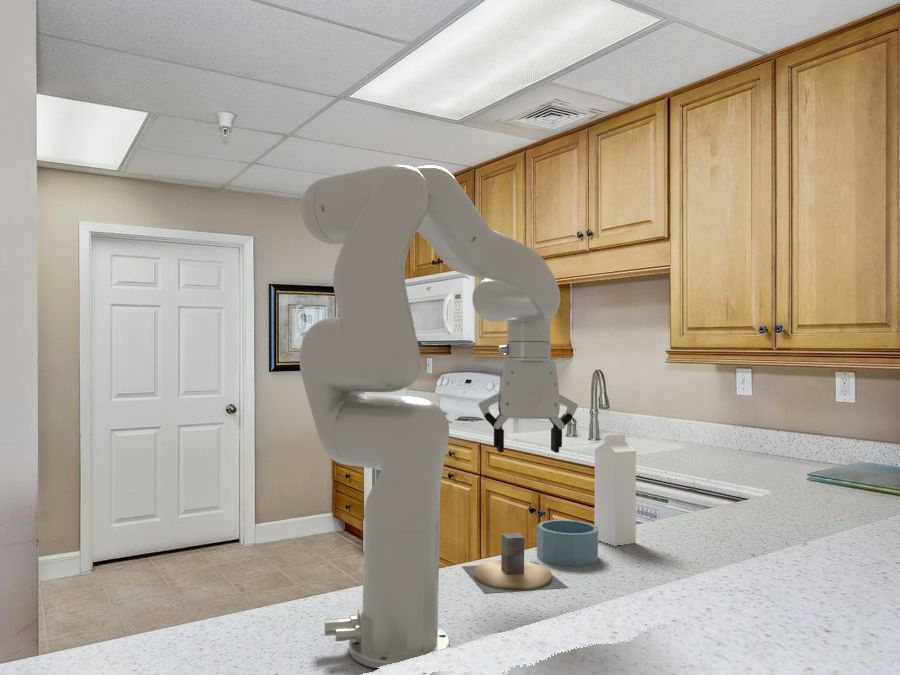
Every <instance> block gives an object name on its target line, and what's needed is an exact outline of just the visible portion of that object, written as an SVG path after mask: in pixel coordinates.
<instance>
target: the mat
mask: <svg viewBox="0 0 900 675" xmlns="http://www.w3.org/2000/svg"><path fill="white" fill-rule="evenodd" d="M529 562H530V561H529ZM530 563H535V564H538V565H541V564H540V563H539V562H537V561H531V562H530ZM478 565H479V564H478ZM478 565H477V564H476V565H463V566H462V565H461V568H462V569H463V570H464V572H466V574H467V575H468V576H469V577H470V578H471V580H472V581H473V582H474V583H475V584H476V585H477V587H478V588H479V589H480V590H481V592H483V593H484V594H485V595H486V594H487V595H488V594H501V593H515V592H516V593H517V592H529V591H530V592H531V591H532V592H533V591H543V590H545V591H546V590H558V589H559V590H561V589H569V587H568V586H567V585H566V584H565V583H564V582H562V581H561V580H560V579H558V578H557V577H556V576H555V575H553V574H552V580H551V582H550V583H549V584H547V585H545V586H542V587H539V588H534V589H523V590H513V589H502V588H496V587H492V586H488V585H485V584H482V583H480V582H479V581H477V580H476V579H475V577H474V569H475V567H477V566H478Z"/></svg>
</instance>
